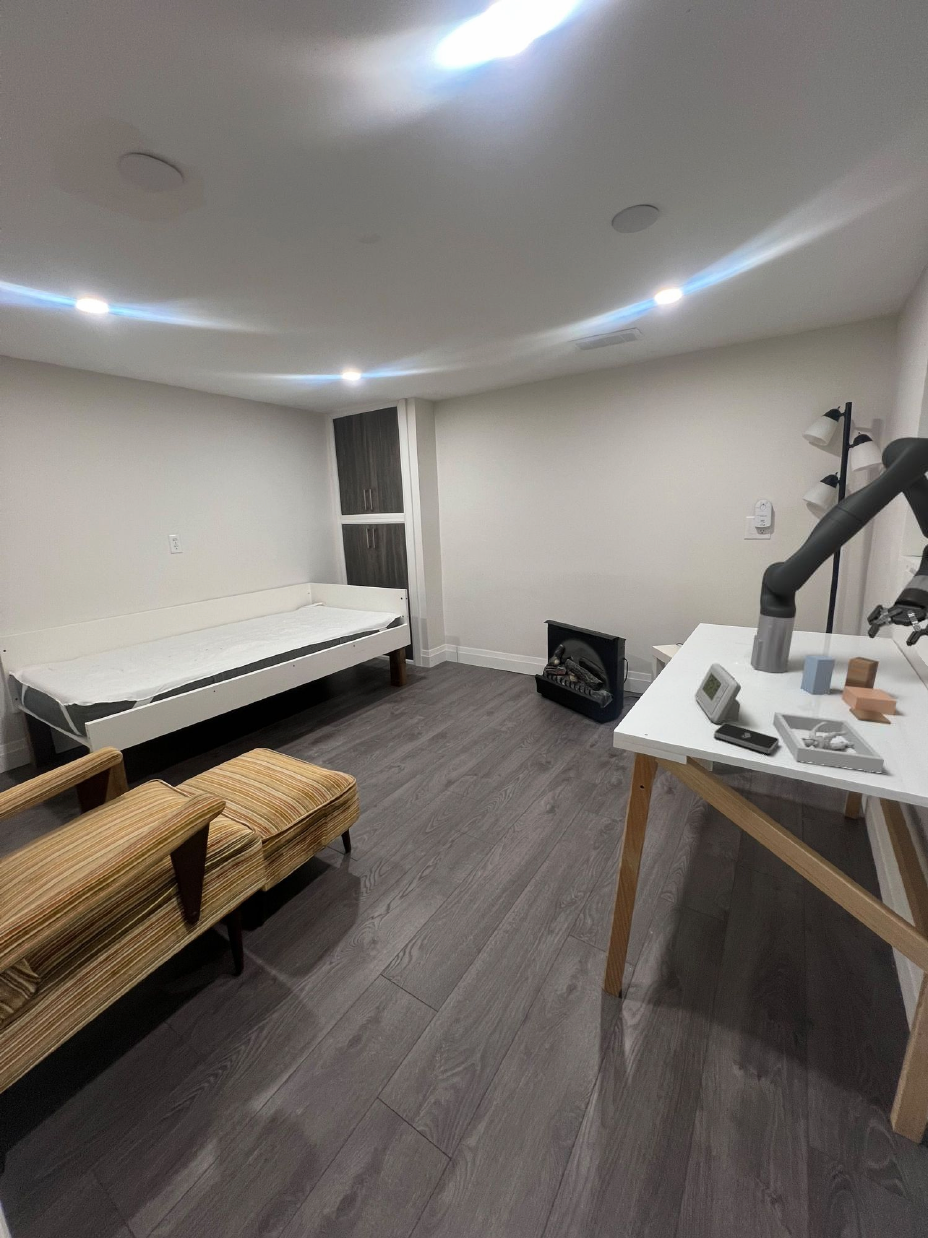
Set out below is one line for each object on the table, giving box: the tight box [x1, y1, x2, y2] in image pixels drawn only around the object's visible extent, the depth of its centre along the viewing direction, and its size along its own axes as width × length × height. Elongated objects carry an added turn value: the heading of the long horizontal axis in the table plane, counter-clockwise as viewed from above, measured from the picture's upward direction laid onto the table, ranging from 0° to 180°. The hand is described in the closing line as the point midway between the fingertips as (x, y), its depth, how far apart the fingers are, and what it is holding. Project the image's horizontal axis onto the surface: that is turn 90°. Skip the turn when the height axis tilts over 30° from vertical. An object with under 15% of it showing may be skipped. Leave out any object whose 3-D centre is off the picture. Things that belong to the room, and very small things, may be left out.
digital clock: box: [694, 662, 742, 724], centre depth 119 cm, size 16×9×11 cm, turn 158°
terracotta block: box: [841, 685, 898, 716], centre depth 123 cm, size 8×8×4 cm
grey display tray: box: [772, 711, 885, 773], centre depth 103 cm, size 14×18×3 cm
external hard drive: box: [713, 722, 780, 757], centre depth 105 cm, size 7×11×2 cm, turn 43°
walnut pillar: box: [844, 656, 880, 689], centre depth 129 cm, size 4×4×10 cm
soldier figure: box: [801, 722, 854, 751], centre depth 101 cm, size 8×5×12 cm
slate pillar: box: [800, 654, 836, 696], centre depth 132 cm, size 4×4×10 cm
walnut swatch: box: [849, 707, 891, 725], centre depth 117 cm, size 6×6×1 cm
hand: (889, 640), depth 132 cm, fingers open, 8 cm apart
